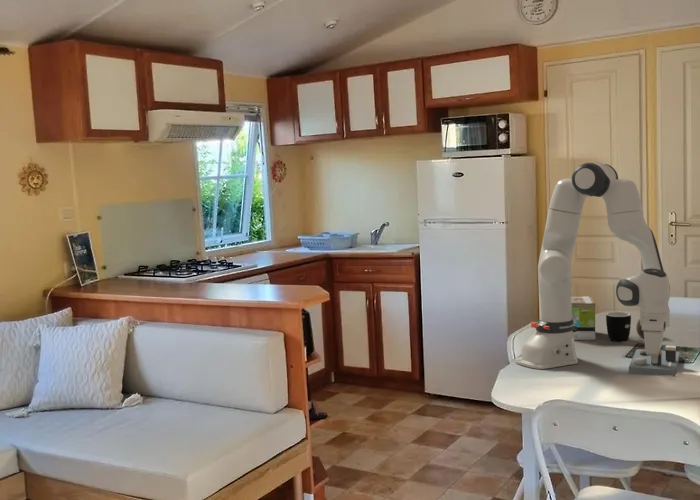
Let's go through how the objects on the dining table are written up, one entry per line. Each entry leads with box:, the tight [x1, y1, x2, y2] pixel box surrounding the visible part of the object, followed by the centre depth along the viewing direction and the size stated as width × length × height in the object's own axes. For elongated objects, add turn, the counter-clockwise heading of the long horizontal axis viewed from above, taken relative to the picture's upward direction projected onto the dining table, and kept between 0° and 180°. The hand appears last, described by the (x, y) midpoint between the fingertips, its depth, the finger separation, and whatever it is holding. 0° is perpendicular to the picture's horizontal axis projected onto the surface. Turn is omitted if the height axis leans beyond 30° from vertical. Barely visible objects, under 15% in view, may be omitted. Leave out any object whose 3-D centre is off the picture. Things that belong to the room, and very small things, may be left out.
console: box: [628, 348, 681, 377], centre depth 255 cm, size 24×14×4 cm, turn 154°
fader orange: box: [651, 348, 663, 365], centre depth 248 cm, size 2×3×4 cm
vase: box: [636, 318, 644, 339], centre depth 293 cm, size 7×7×9 cm
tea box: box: [572, 296, 596, 341], centre depth 300 cm, size 15×10×15 cm, turn 168°
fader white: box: [665, 345, 677, 361], centre depth 251 cm, size 2×3×4 cm
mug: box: [605, 311, 632, 343], centre depth 291 cm, size 12×9×10 cm
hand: (654, 362), depth 244 cm, fingers closed
